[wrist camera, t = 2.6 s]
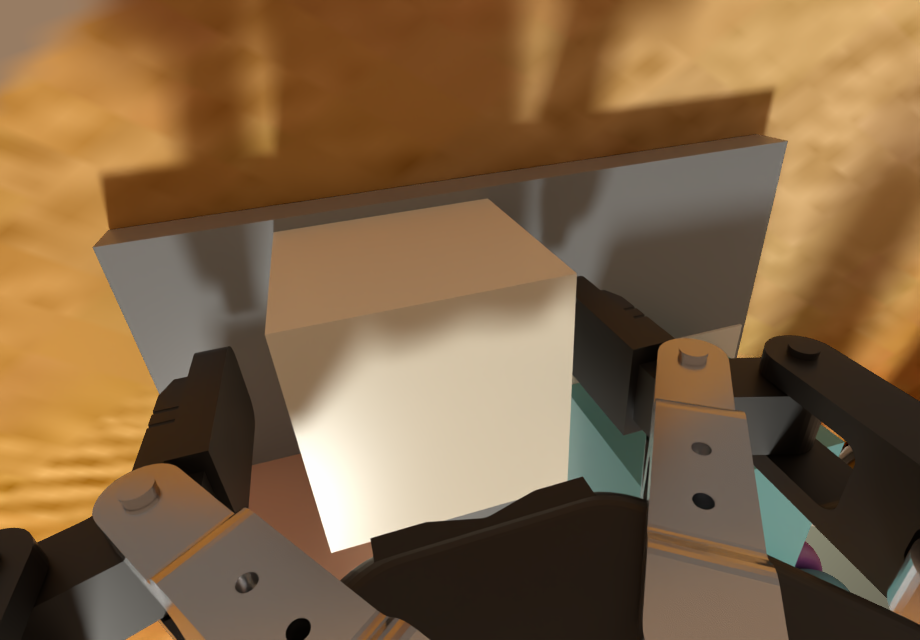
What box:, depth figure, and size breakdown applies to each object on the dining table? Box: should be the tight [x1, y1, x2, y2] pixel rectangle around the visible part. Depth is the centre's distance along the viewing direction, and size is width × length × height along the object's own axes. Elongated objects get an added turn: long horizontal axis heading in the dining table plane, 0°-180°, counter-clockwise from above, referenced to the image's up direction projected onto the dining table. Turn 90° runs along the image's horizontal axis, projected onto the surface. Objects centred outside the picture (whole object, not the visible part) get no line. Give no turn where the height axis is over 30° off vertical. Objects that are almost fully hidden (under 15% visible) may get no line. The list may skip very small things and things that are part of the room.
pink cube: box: [248, 454, 373, 580], centre depth 15 cm, size 5×5×5 cm
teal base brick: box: [567, 356, 845, 567], centre depth 17 cm, size 6×6×5 cm
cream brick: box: [265, 198, 577, 553], centre depth 12 cm, size 5×5×5 cm
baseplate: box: [93, 134, 788, 521], centre depth 18 cm, size 18×15×1 cm
